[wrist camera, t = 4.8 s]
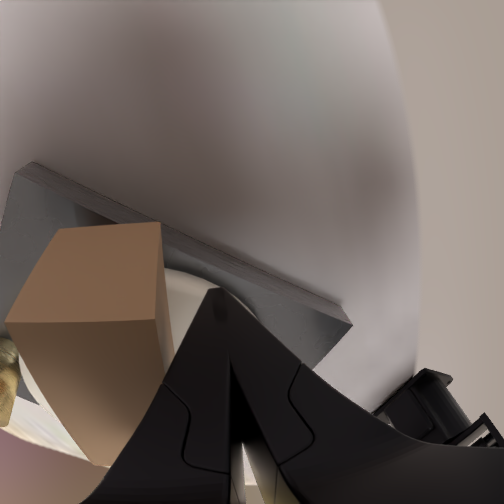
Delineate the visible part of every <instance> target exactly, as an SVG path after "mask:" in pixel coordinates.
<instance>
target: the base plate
mask: <svg viewBox="0 0 504 504" xmlns="http://www.w3.org/2000/svg"><path fill="white" fill-rule="evenodd" d="M146 222H157V221H155V220H153V219H151V218H148V217H146V216H144V215H142V214H140V213H138V212H136V211H134V210H132V209H129V208H127V207H125V206H123V205H121V204H119V203H117V202H115V201H113V200H111V199H109V198H106V197H104V196H102V195H100V194H98V193H96V192H94V191H92V190H90V189H88V188H86V187H84V186H81V185H79V184H77V183H75V182H73V181H71V180H69V179H67V178H65V177H63V176H61V175H59V174H57V173H55V172H53V171H51V170H48V169H46V168H44V167H42V166H40V165H38V164H36V163H34V162H31V163H29V164H28V165H26V166H25V167H23V168H22V169H20V170H19V171H17V172H16V173H15V175H14V178H13V181H12V185H11V188H10V192H9V196H8V199H7V203H6V207H5V212H4V216H3V220H2V225H1V229H0V337H1V338H6V339H8V340H10V341H12V342H13V340H12V338H11V336H10V334H9V332H8V330H7V327H6V325H5V323H4V321H5V319H6V317H7V315H8V313H9V312H10V310H11V308H12V306H13V304H14V302H15V300H16V298H17V296H18V295H19V293H20V291H21V289H22V287H23V286H24V284H25V282H26V280H27V279H28V277H29V275H30V274H31V272H32V270H33V269H34V267H35V265H36V264H37V262H38V260H39V259H40V257H41V255H42V254H43V252H44V251H45V249H46V248H47V246H48V244H49V243H50V241H51V240H52V238H53V237H54V235H55V234H56V232H57V231H58V229H64V228H76V227H89V226H102V225H116V224H131V223H146ZM161 237H162V249H163V260H164V268H168V269H172V270H176V271H181V272H185V273H188V274H191V275H194V276H197V277H200V278H202V279H205V280H207V281H209V282H211V283H213V284H215V285H217V286H219V287H225V289H226V290H227V291H228V292H229V293H231V294H232V295H234V296H235V297H236V298H238V299H239V300H240V301H241V302H242V303H243V304H245V305H246V306H247V307H248V308H249V309H250V310H251V312H252V313H253V314H254V315H255V316H256V318H257V319H258V320H259V321H260V322H261V323H262V324H263V325H264V326H265V327H266V328H267V329H268V330H269V331H270V332H271V333H272V334H273V335H275V336H276V337H277V338H278V339H279V340H280V341H281V342H282V343H283V344H284V345H285V346H286V347H287V348H288V349H290V350H291V351H292V352H293V353H294V354H295V355H296V356H297V357H298V358H299V359H300V360H302V363H305V364H306V365H307V366H308V367H309V368H310V369H313V368H314V367H315V366H316V365H317V364H318V363H319V362H320V361H321V360H322V359H323V358H324V357H325V356H326V355H327V354H328V352H329V351H330V350H331V349H332V348H333V347H334V346H335V345H336V344H337V343H338V342H339V341H340V339H341V338H342V337H343V336H344V335H345V334H346V333H347V332H348V331H349V329H350V328H351V327H352V326H353V324H352V323H351V321H350V320H349V318H348V317H347V315H346V314H345V312H344V311H343V309H342V308H341V306H339V305H337V304H335V303H332V302H330V301H328V300H326V299H324V298H321V297H319V296H317V295H315V294H312V293H310V292H308V291H306V290H304V289H301V288H299V287H297V286H295V285H293V284H291V283H288V282H286V281H284V280H282V279H280V278H277V277H275V276H273V275H271V274H269V273H266V272H264V271H262V270H260V269H258V268H256V267H253V266H251V265H249V264H247V263H245V262H243V261H240V260H238V259H236V258H234V257H232V256H230V255H227V254H225V253H223V252H221V251H219V250H217V249H215V248H212V247H210V246H208V245H206V244H204V243H202V242H200V241H197V240H195V239H193V238H191V237H189V236H187V235H185V234H182V233H180V232H178V231H176V230H174V229H172V228H170V227H168V226H165V225H163V224H161ZM16 396H19V397H21V398H23V399H26V400H28V401H30V402H33V403H35V404H38V405H39V403H38V402H37V401H36V400H35V398H34V397H33V396H32V394H31V393H30V391H29V389H28V388H27V386H26V384H25V382H24V379H23V376H22V377H21V380H20V384H19V387H18V390H17V394H16Z"/></svg>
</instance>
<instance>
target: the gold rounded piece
mask: <svg viewBox="0 0 504 504" xmlns="http://www.w3.org/2000/svg"><path fill="white" fill-rule="evenodd" d="M21 377H22V374H21V370H20V365H19V352H18V350H17V348H16V346H15V344H14V342H12V341H10V340H8V339H6V338H1V337H0V427H5V426H7V425H8V424H9V420H10V416H11V412H12V408H13V404H14V401H15V397H16V394H17V390H18V387H19V384H20V380H21Z"/></svg>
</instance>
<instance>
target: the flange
mask: <svg viewBox="0 0 504 504" xmlns="http://www.w3.org/2000/svg"><path fill="white" fill-rule="evenodd" d="M216 287H219V286H217V285H215V284H213V283H211V282H209V281H207V280H205V279H202V278H200V277H197V276H194V275H191V274H188V273H185V272H181V271H176V270H172V269H168V268H164V260H163V249H162V237H161V223H160V222H146V223H131V224H116V225H102V226H89V227H76V228H64V229H58V231H57V232H56V234H55V235H54V237H53V238H52V240H51V241H50V243H49V244H48V246H47V248H46V249H45V251H44V252H43V254H42V255H41V257H40V259H39V260H38V262H37V264H36V265H35V267H34V269H33V270H32V272H31V274H30V275H29V277H28V279H27V280H26V282H25V284H24V286H23V287H22V289H21V291H20V293H19V295H18V296H17V298H16V300H15V302H14V304H13V306H12V308H11V310H10V312H9V313H8V315H7V317H6V319H5V321H4V323H5V325H6V327H7V330H8V332H9V334H10V336H11V338H12V340H13V342H14V344H15V346H16V348H17V350H18V352H19V365H20V370H21V374H22V376H23V379H24V382H25V384H26V386H27V388H28V389H29V391H30V393H31V394H32V396H33V397H34V398H35V400H36V401H37V402H38V403H39V405H40V406H41V407H42V408H43V409H44V410H45V411H46V412H47V413H48V414H50V415H51V416H52V417H53V418H54V419H56V420H57V421H58V422H60V423H61V424H62V425H63V426H64V427H65V429H66V430H67V432H68V433H69V434H70V436H71V437H72V438H73V440H74V441H75V442H76V444H77V445H78V446H79V448H80V449H81V450H82V452H83V453H84V454H85V455H86V457H87V458H88V459H89V460H90V461H91V463H92V464H93V465H100V466H112V464H113V463H114V461H115V460H116V458H117V457H118V455H119V454H120V452H121V451H122V449H123V448H124V446H125V445H126V443H127V442H128V440H129V439H130V437H131V436H132V434H133V433H134V431H135V430H136V428H137V426H138V425H139V423H140V422H141V420H142V418H143V417H144V415H145V413H146V411H147V409H148V408H149V406H150V404H151V402H152V400H153V398H154V396H155V394H156V392H157V390H158V388H159V386H160V384H162V380H163V378H164V376H165V374H166V372H167V370H168V368H169V366H170V364H171V362H172V360H173V358H174V356H175V354H176V352H177V350H178V348H179V346H180V344H181V342H182V340H183V338H184V336H185V334H186V332H187V330H188V328H189V326H190V324H191V322H192V320H193V318H194V316H195V314H196V312H197V310H198V308H199V306H200V304H201V302H202V300H203V298H204V296H205V294H206V292H207V290H208V289H209V288H216ZM230 294H231V293H230ZM233 296H234V295H233ZM234 297H235V296H234ZM235 298H236V297H235ZM236 299H237V300H238V301H239V302H240V303H241V304H242V305H243V306H244V307H245V308H246V309H247V310H248V311H249V312H250V313H251V314H252V315H253V316H254V317H255V318H256V316H255V315H254V314H253V313H252V312H251V310H250V309H249V308H248V307H247V306H246V305H245V304H243V303H242V302H241V301H240V300H239V299H238V298H236ZM256 319H257V318H256Z"/></svg>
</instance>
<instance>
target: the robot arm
mask: <svg viewBox="0 0 504 504" xmlns="http://www.w3.org/2000/svg"><path fill="white" fill-rule="evenodd" d="M452 380H453V378H452V377H451V376H450V375H447V374H444V373H441V372H437V371H434V370H430V369H427V368H424V369H422V370H421V371H419V373H417V374H416V375H415V376H414V377H413V378H412V379H411V380H410V381H409V382H408V383H407V384H406V385H405V386H404V387H403V388H402V389H401V390H400V391H399V392H398V393H397V394H396V395H395V396H393V397H392V398H391V399H390V400H389V401H388V402H387V403H386V404H385V405H383V406H382V407H381V408H380V409H379V410H378V411H377V412H375V413H374V414H373V415H372V414H371V413H369V412H368V411H366V410H365V409H363V408H362V407H360V406H359V405H357V404H356V403H354V402H353V401H351V400H350V399H348V398H347V397H345V396H344V395H343V394H341V393H340V392H338V391H337V390H336V389H334V388H333V387H332V386H330V385H329V384H328V383H327V382H326V381H324V380H323V379H322V378H321V377H320V376H318V375H317V374H316V373H315V372H314V371H313V370H312V369H310V368H309V367H308V366H307V365H306V364H305V363H302V360H300V359H299V358H298V357H297V356H296V355H295V354H294V353H293V352H292V351H291V350H290V349H288V348H287V347H286V346H285V345H284V344H283V343H282V342H281V341H280V340H279V339H278V338H277V337H276V336H275V335H273V334H272V333H271V332H270V331H269V330H268V329H267V328H266V327H265V326H264V325H263V324H262V323H261V322H260V321H259V320H258V319H256V318H255V317H254V316H253V315H252V314H251V313H250V312H249V311H248V310H247V309H246V308H245V307H244V306H243V305H242V304H241V303H240V302H239V301H238V300H237V299H236V298H235V297H234V296H233V295H232V294H230V293H229V292H228V291H227V290H226V289H225V287H216V288H209V289H208V290H207V292H206V294H205V296H204V298H203V300H202V302H201V304H200V306H199V308H198V310H197V312H196V314H195V316H194V318H193V320H192V322H191V324H190V326H189V328H188V330H187V332H186V334H185V336H184V338H183V340H182V342H181V344H180V346H179V348H178V350H177V352H176V354H175V356H174V358H173V360H172V362H171V364H170V366H169V368H168V370H167V372H166V374H165V376H164V378H163V380H162V384H160V386H159V388H158V390H157V392H156V394H155V396H154V398H153V400H152V402H151V404H150V406H149V408H148V409H147V411H146V413H145V415H144V417H143V418H142V420H141V422H140V423H139V425H138V426H137V428H136V430H135V431H134V433H133V434H132V436H131V437H130V439H129V440H128V442H127V443H126V445H125V446H124V448H123V449H122V451H121V452H120V454H119V455H118V457H117V458H116V460H115V461H114V463H113V464H112V466H111V467H110V469H109V470H108V472H107V473H106V475H105V476H104V478H103V479H102V481H101V482H100V483H99V485H98V486H97V487H96V488H95V490H94V491H93V492H92V493H91V494H90V495H89V496H88V497H87V498H86V499H84V500H83V501H82V502H80V503H79V504H246V497H245V482H244V466H243V449H242V443H243V446H244V449H245V452H246V455H247V457H248V460H249V463H250V466H251V468H252V471H253V474H254V477H255V479H256V482H257V484H258V487H259V490H260V492H261V495H262V498H263V500H264V503H265V504H504V439H503V437H502V436H501V434H500V433H499V432H498V430H497V429H496V427H495V426H494V425H493V423H492V422H491V420H490V419H489V418H488V416H487V415H486V414H485V413H483V414H482V415H481V416H480V418H479V419H478V420H477V421H475V422H474V423H473V424H472V423H471V422H470V420H469V419H468V417H467V416H466V415H465V413H464V412H463V410H462V409H461V408H460V406H459V405H458V403H457V402H456V400H455V399H454V398H453V396H452V395H451V393H450V392H449V391H448V389H447V388H446V387H447V386H448V385H449V384H450V383H451V382H452ZM388 424H391V426H392V427H391V426H390V425H388ZM487 429H488V430H489V432H490V433H489V434H487V435H486V436H485V437H484V438H482V437H481V438H479V439H478V440H477V441H476V442H475V443H473V444H472V445H471V446H470V447H468V445H469V444H470V443H471V442H473V441H474V440H475V439H476V438H478V437H479V436H480V435H481V434H482V433H483V432H485V431H486V430H487Z"/></svg>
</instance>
